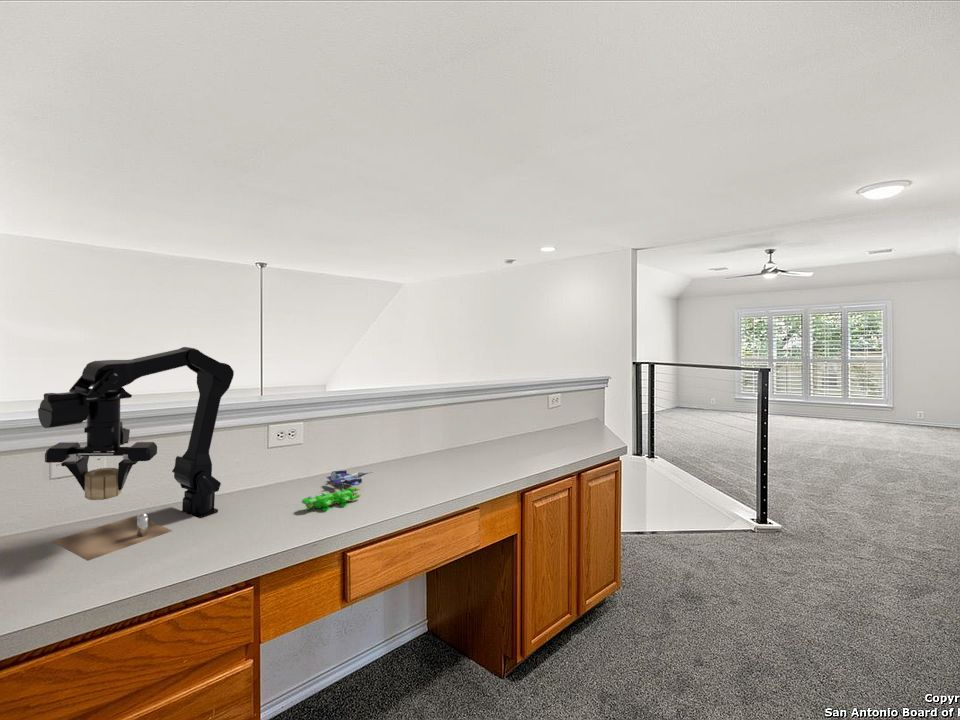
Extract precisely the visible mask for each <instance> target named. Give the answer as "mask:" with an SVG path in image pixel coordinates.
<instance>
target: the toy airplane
mask: <svg viewBox="0 0 960 720" xmlns="http://www.w3.org/2000/svg"><path fill="white" fill-rule="evenodd" d="M371 473H373V471H371V472H370V474H371ZM368 474H369V472H363V471H358V472H356V473H353V474H351V473H348V471H347V470H335V471H331V474H330V476H326V478H327V479H328V480H329V481H330V482H332V483H334V486H338V485H341V484H342V485H341V487H340V488H341V490H342V489H345V485H344V484H346V485H352V486H359V485H360V483H362V481H363V479H362V478H361V477H363V476H365V475H368Z"/></svg>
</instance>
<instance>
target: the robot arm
mask: <svg viewBox="0 0 960 720" xmlns="http://www.w3.org/2000/svg"><path fill="white" fill-rule="evenodd" d="M183 367H187V368H188V369H189V370H191V371H192V372H194V373H195V374H196V386H197V389H198V393H199V397H198V401H197V405H196V410H195V414H194V420H193V423H192V429H191V433H190V437H189V441H188V446H187V449H186V451H185V453H184V454H183V455H182V456H179V455H177V456H176V457H175V459H174V467H173V468H172V473H173V476H174V479H175V481H176V482H177V483H179V485H180V487H181V489H184V490H185V491H184V495H183V497H182V509H181V512H182V513H184V514H185V513H186V514H188V515H190V516H192V517H195V518H197V519H201V518H204V517H207V516H209V515H212V514H214V513H218V512H219V509H218V508H216V507H215V499H216V498H215V495H216V494H215V493H216V492H219V490H220V488H221V484H222V483H221V482H220V481H219V480H218V479H216V478H215V477H214V476H212V475H213V474H212V473H213V463H212V459H211V455H210V449H211V444H212V439H213V436H214V430H215V425H216V422H217V416H218V413H219V408H220V403H221V400H222V397H223V396H224V395H225V393H226V392H227V391H228V390H229V389H230V387H231V384H232V381H233V379H234V373H235V371H234V369H233V368H232V366H230V365H229V364H228V363H225V362H224V363H223V362H220V361H218V360H216V359H214V358H213V357H210V356H208V355H207V354H205V353H203V352H202V351H200V350H199V349H197V348H194V347H188V346H183V347H181V348H178V349H172V350H168V351H163V352H160V353H159V352H158V353H155V354H151V355H145V356H140V357H136V358H131V359H105V360H102V359H101V360H94V361H91V362H89V363H87V364H86V365H85V367H84V368H83V370H82V372H81V376H80V377H79V378H78V379H77V380H76V381H75V383H74V384H73V385H72V386H71V387H70V389H69V391H68V392H57V393H56V392H48V393H44V394H43V399H42V400H41V401H40V403H39V407H38V409H37V416H38V420H39V422H40V425H41V426H42V427H43V428H44V429H51V428H57V427H66V426H73V425H78V424H79V425H80V424H82V423H83V422H84V421H86V426H85V427H84V429H83V430H84V433H86V446H81V444H80V443H79V442H70V441H69V442H68V441H67V442H65V441H64V442H63V441H62V442H58V443H56V444H54V445H52V446H51V447H49V448H48V449H46V451H45V453H44V462H45V463H47V464H49V463H52V464H53V463H60V466H61V467H66V468H67V470H68V471H69V472H70V473H71V475H72V476H74V479H75V480H76V481H77V482H78V485H80V488H81V489H82V490H83V492H85V474H86V473H87V472H89V469H88V468H89V467H88V465H89V464H88V463H89V460H90V457H122V458H123V459H122V460H121V461H119V462H118V465H117V467H118V468H117V469H118V489H119V490H121V491H122V490H123V488H124V486H125V484H126V481H127V478H128V476H129V474H130V472H131V469H132V468H133V466H134V465H136V464H137V463H138V462H147V461H151V460H152V459H153V458H154V457H155V456H156V455H157V454H158V446H157V443H155V442H154V441H136V442H135V443H134V444H132V445H131V446H124V445H126V444H129V440H130V433H131V432H130V430H131V429H130V428H129V429H128V428H124V427H123V421H121V399H130V398H132V396H133V395H132V394H131V393H129V392H128V391H127V390H126V389H125V388H124V387H125V386H128V385H130V384H132V383H133V382H135V381H136V380H137V379H140V378H142V377H146V376H150V375H153V374H158V373H162V372H167V371H169V370H175V369H178V368H183ZM91 387H92V388H91Z"/></svg>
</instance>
